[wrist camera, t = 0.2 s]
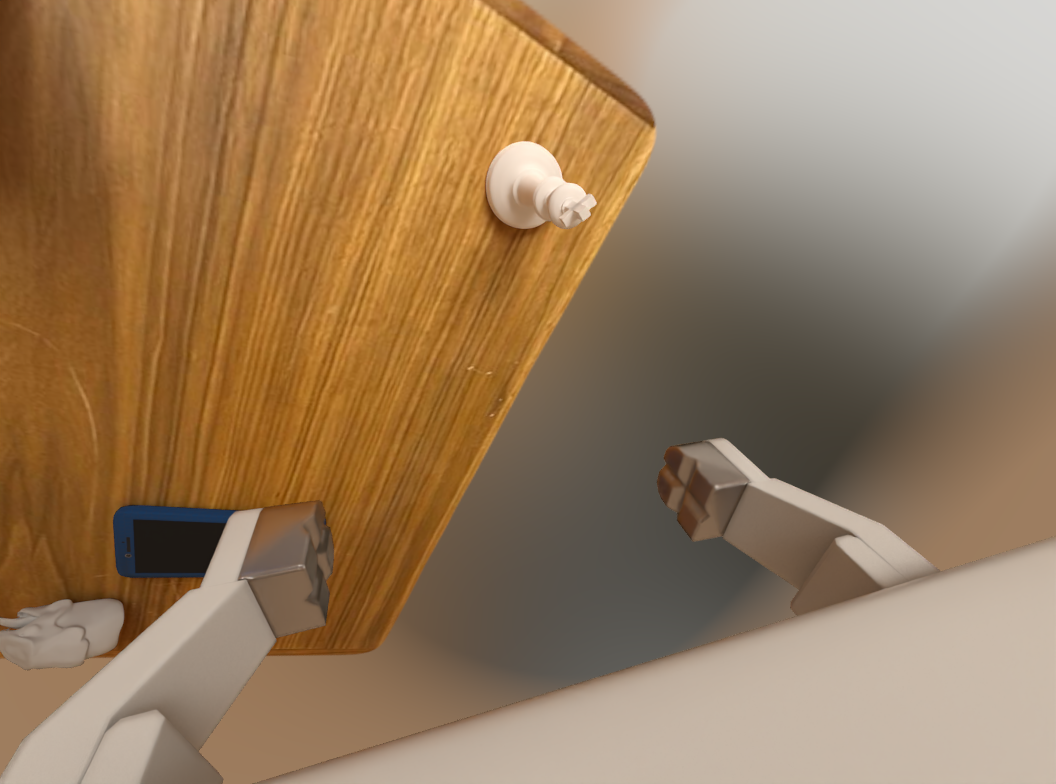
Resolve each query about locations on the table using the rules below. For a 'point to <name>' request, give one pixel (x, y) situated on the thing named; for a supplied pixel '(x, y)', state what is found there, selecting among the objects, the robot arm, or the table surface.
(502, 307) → the table surface
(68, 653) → the figurine
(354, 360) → the table surface
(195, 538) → the cell phone
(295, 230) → the table surface
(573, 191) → the chess piece
